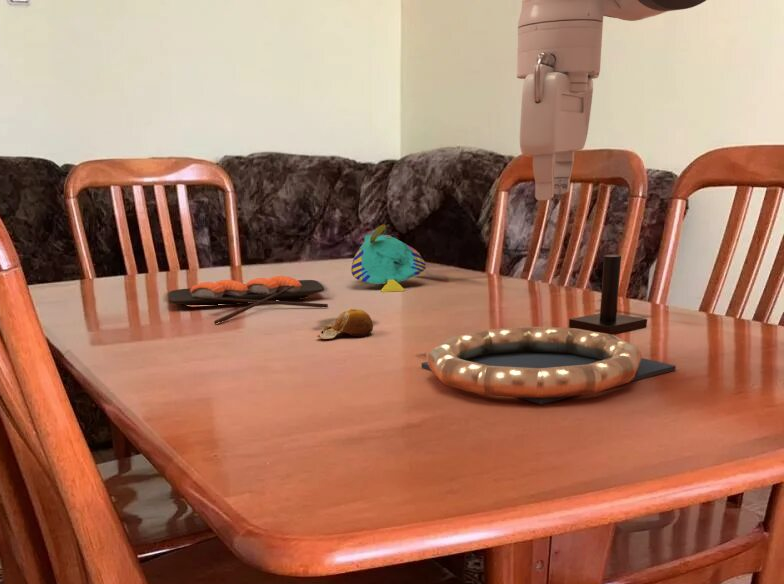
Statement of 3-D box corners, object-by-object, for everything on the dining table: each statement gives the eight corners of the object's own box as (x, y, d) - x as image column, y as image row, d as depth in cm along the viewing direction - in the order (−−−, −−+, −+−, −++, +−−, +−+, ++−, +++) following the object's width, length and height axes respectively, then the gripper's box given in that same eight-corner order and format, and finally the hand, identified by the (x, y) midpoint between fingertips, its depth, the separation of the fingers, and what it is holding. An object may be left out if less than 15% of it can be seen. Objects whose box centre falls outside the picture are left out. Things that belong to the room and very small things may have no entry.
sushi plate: (316, 288, 168) (315, 269, 166) (342, 314, 141) (340, 291, 139) (170, 299, 162) (167, 279, 161) (168, 328, 136) (164, 304, 134)
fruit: (322, 329, 130) (320, 305, 128) (375, 328, 129) (374, 304, 128) (316, 341, 122) (314, 316, 121) (371, 339, 122) (370, 314, 120)
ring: (462, 345, 113) (462, 322, 112) (646, 353, 105) (649, 328, 104) (402, 393, 93) (401, 365, 92) (626, 408, 85) (629, 377, 83)
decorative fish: (346, 209, 167) (419, 204, 168) (349, 262, 177) (419, 258, 178) (352, 266, 156) (431, 261, 156) (355, 320, 165) (429, 315, 166)
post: (605, 319, 128) (611, 250, 124) (646, 327, 122) (653, 255, 118) (568, 327, 125) (572, 256, 120) (608, 335, 119) (614, 261, 114)
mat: (547, 341, 116) (548, 337, 116) (675, 370, 100) (676, 365, 99) (421, 367, 106) (421, 362, 106) (540, 405, 89) (540, 399, 89)
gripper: (570, 47, 79) (563, 203, 84) (602, 61, 96) (594, 190, 102) (506, 53, 81) (503, 204, 87) (548, 65, 98) (543, 191, 104)
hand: (553, 196), depth 94 cm, fingers open, 8 cm apart
